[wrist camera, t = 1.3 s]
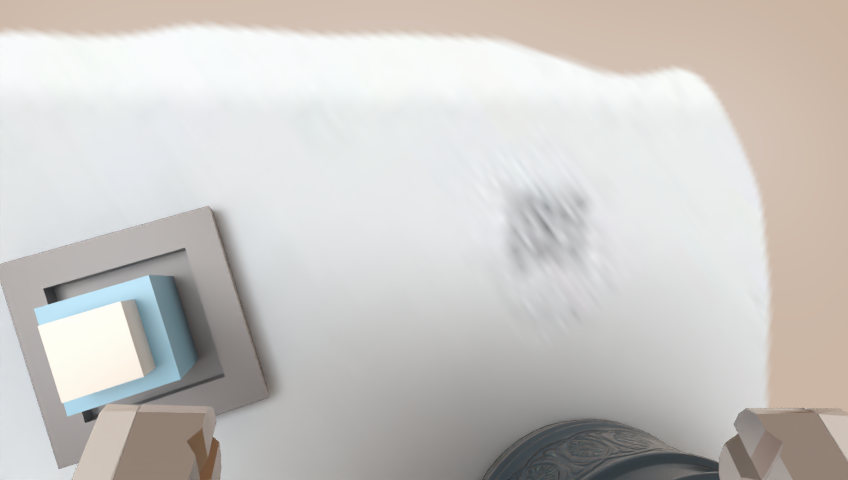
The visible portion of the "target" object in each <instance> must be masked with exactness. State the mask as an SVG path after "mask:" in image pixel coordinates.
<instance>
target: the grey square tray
mask: <svg viewBox="0 0 848 480" xmlns="http://www.w3.org/2000/svg"><path fill="white" fill-rule="evenodd" d="M147 275H158V276H173V277H174V281H175V284H176V287H177V290H178V293H179V297H180V300H181V303H182V306H183V310H184V313H185V316H186V319H187V322H188V326H189V329H190V332H191V335H192V339H193V342H194V345H195V348H196V351H197V355H198V358H199V359H198V360H197V362H196V363H195V364H194V365H193V366H192V367H191V368H190V370H189V371H188V372H187V373H186V374H185V375H184V376H183V378H182V379H180V380H177V381H174V382H171V383H168V384H165V385H162V386H159V387H156V388H153V389H150V390H147V391H144V392H141V393H138V394H135V395H132V396H129V397H126V398H123V399H120V400H117V401H113V402H110V403H107V404H134V405H142V404H146V405H179V406H210V407H213V409H214V414H215V416H216V415H219V414H222V413H224V412H227V411H230V410H233V409H236V408H239V407H242V406H245V405H248V404H251V403H254V402H257V401H259V400H262V399H265V398H268V390H267V386H266V383H265V380H264V377H263V373H262V370H261V367H260V364H259V361H258V357H257V354H256V351H255V348H254V344H253V341H252V338H251V335H250V331H249V328H248V325H247V322H246V319H245V315H244V312H243V309H242V306H241V302H240V299H239V296H238V293H237V289H236V286H235V283H234V280H233V277H232V273H231V270H230V267H229V264H228V260H227V257H226V254H225V251H224V247H223V244H222V241H221V238H220V235H219V231H218V228H217V225H216V222H215V218H214V215H213V212H212V210H211V208H210V207H209V206H206V207H203V208H199V209H196V210H192V211H188V212H185V213H181V214H178V215H174V216H171V217H167V218H163V219H160V220H156V221H153V222H149V223H145V224H142V225H138V226H135V227H131V228H127V229H124V230H120V231H117V232H113V233H109V234H106V235H102V236H99V237H95V238H92V239H88V240H84V241H81V242H77V243H74V244H70V245H66V246H63V247H59V248H56V249H52V250H48V251H45V252H41V253H38V254H34V255H30V256H27V257H23V258H20V259H16V260H13V261H9V262H5V263H2V264H0V283H1V286H2V289H3V292H4V295H5V299H6V302H7V305H8V308H9V311H10V315H11V318H12V321H13V324H14V327H15V331H16V334H17V337H18V340H19V343H20V347H21V350H22V353H23V356H24V359H25V363H26V366H27V369H28V372H29V375H30V378H31V382H32V385H33V388H34V391H35V394H36V398H37V401H38V404H39V407H40V410H41V414H42V417H43V420H44V423H45V426H46V430H47V433H48V436H49V439H50V442H51V446H52V449H53V452H54V455H55V458H56V462H57V465H58V468H59V469H61V468H64V467H67V466H70V465H73V464H76V463H79V461H80V459H81V456H82V454H83V452H84V449H85V447H86V444H87V442H88V439H89V437H90V435H91V432H92V430H93V427H94V425H95V423H96V420H97V418H98V415H99V413H100V412H101V411H102V410H103V408H104V407H105V406H106V405H107V404H104V405H101V406H98V407H95V408H92V409H89V410H86V411H83V412H80V413H77V414H74V415H71V416H68V417H67V414H66V410H65V407H64V404H63V403H61V400H60V397H59V393H58V390H57V387H56V384H55V381H54V377H53V374H52V371H51V368H50V365H49V361H48V358H47V355H46V352H45V349H44V345H43V342H42V339H41V336H40V333H39V329H38V326H39V324H38V321H37V318H36V314H35V311H34V309H35V308H38V307H42V306H45V305H49V304H52V303H55V302H59V301H62V300H66V299H69V298H72V297H76V296H79V295H83V294H86V293H89V292H93V291H96V290H100V289H103V288H106V287H110V286H113V285H117V284H120V283H123V282H127V281H130V280H134V279H137V278H140V277H144V276H147Z"/></svg>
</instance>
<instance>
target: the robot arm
mask: <svg viewBox="0 0 848 480" xmlns="http://www.w3.org/2000/svg"><path fill="white" fill-rule="evenodd" d="M215 425H216V419H215V414H214V409H213V407H210V406H179V405H146V404H142V405H134V404H107V405H106V406H105V407H104V408H103V410H102V411H101V412H100V413H99V415H98V418H97V420H96V423H95V425H94V427H93V430H92V432H91V435H90V437H89V439H88V442H87V444H86V447H85V449H84V452H83V454H82V456H81V459H80V461H79V464H78V466H77V468H76V471H75V473H74V476H73V478H72V480H220V474H221V451H220V444H219V442H218V441H217V440H216V439H215V438H214V437H213V434H214V430H215ZM734 426H735V428H736V430H737V432H738V434H737V435H736V436H735V437H733V438H732V439H730V440H729V441H727V442H726V443H725V444H724V447H723V449H722V452H721V454H720V457H719V477H720V480H848V414H847V413H846V412H845V411H843V410H841V409H805V408H746V409H745V410H743V411H742V412H740V413H739V415H738V417H737V419H736V421H735V423H734Z"/></svg>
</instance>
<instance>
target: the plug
mask: <svg viewBox="0 0 848 480" xmlns="http://www.w3.org/2000/svg"><path fill="white" fill-rule="evenodd" d="M34 311H35V314H36V318H37V321H38V324H39V326H38V329H39V333H40V336H41V339H42V342H43V345H44V349H45V352H46V355H47V358H48V361H49V365H50V368H51V371H52V374H53V377H54V381H55V384H56V387H57V390H58V393H59V397H60V400H61V403H63V404H64V407H65V410H66V414H67V417H68V416H71V415H74V414H77V413H80V412H83V411H86V410H89V409H92V408H95V407H98V406H101V405H104V404H107V403H110V402H113V401H117V400H120V399H123V398H126V397H129V396H132V395H135V394H138V393H141V392H144V391H147V390H150V389H153V388H156V387H159V386H162V385H165V384H168V383H171V382H174V381H177V380H180V379H182V378H183V376H184V375H185V374H186V373H187V372H188V371H189V370H190V368H191V367H192V366H193V365H194V364H195V363H196V362H197V360H198V359H199V358H198V355H197V351H196V348H195V345H194V342H193V339H192V335H191V332H190V329H189V326H188V322H187V319H186V316H185V313H184V310H183V306H182V303H181V300H180V297H179V293H178V290H177V287H176V284H175V281H174V277H173V276H158V275H147V276H144V277H140V278H137V279H134V280H130V281H127V282H123V283H120V284H117V285H113V286H110V287H106V288H103V289H100V290H96V291H93V292H89V293H86V294H83V295H79V296H76V297H72V298H69V299H66V300H62V301H59V302H55V303H52V304H49V305H45V306H42V307H38V308H35V309H34Z"/></svg>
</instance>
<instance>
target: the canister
mask: <svg viewBox="0 0 848 480" xmlns="http://www.w3.org/2000/svg"><path fill="white" fill-rule="evenodd" d="M482 480H720V477H719V462H716V461H714V460H711V459H708V458H706V457H703V456H698V455H694V454H689V453H684V452H682V451H680V450H677V449H675V448H672V447H670V446H668V445H666V444H665V443H663V442H662V441H660V440H659V439H657V438H656V437H654V436H652V435H650V434H648V433H646V432H644V431H641V430H639V429H636V428H633V427H631V426H628V425H625V424H621V423H617V422H613V421H606V420H574V421H565V422H560V423H556V424H552V425H549V426H546V427H543V428H541V429H538V430H536V431H534V432H532V433H530V434H528V435H527V436H525V437H523V438H522V439H520V440H519V441H517V442H516V443H515V444H513V445H512V446H511V447H510V448H508V449H507V450H506V451H505V452H504V453H503V454H502V455H501V456H500V457H499V458H498V459H497V460H496V461H495V463H494V464H493V465H492V466H491V468H490V469H489V470H488V472H487V473H486V475H485V476H484V477H483V479H482Z"/></svg>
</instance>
